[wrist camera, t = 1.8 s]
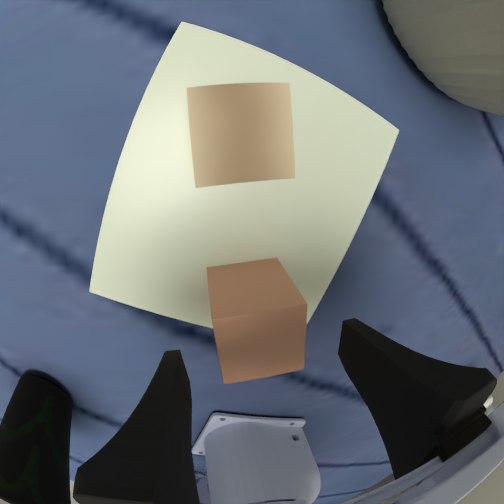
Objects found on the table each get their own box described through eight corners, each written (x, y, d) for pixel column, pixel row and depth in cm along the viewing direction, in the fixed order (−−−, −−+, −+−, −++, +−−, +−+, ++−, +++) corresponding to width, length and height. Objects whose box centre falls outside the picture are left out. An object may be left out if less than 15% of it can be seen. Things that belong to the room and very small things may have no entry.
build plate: (393, 130, 15) (399, 130, 15) (291, 340, 20) (294, 345, 19) (182, 25, 11) (181, 21, 10) (92, 286, 15) (89, 291, 15)
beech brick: (268, 95, 13) (289, 82, 10) (274, 170, 14) (295, 178, 11) (189, 100, 12) (186, 87, 9) (196, 177, 14) (195, 188, 11)
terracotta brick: (276, 257, 16) (307, 303, 12) (278, 314, 18) (303, 368, 13) (206, 267, 16) (211, 319, 11) (215, 325, 17) (224, 384, 13)
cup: (58, 371, 16) (33, 514, 6) (96, 418, 20) (90, 530, 10) (-4, 363, 15) (-37, 476, 5) (36, 409, 19) (21, 507, 9)
